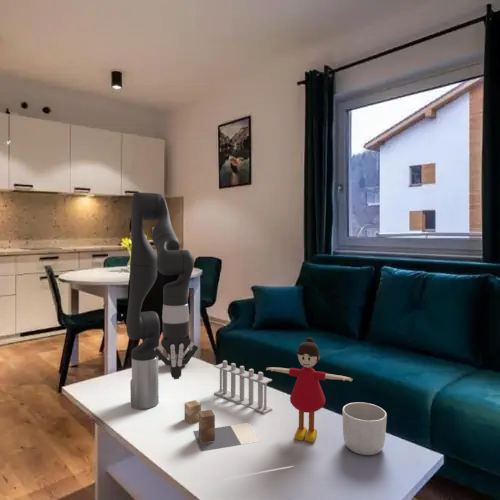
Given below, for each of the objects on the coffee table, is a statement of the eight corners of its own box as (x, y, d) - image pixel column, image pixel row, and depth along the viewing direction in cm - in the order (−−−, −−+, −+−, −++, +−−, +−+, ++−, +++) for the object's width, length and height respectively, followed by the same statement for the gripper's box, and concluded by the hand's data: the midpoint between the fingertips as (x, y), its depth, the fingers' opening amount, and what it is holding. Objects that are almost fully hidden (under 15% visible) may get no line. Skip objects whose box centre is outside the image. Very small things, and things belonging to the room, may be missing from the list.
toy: (260, 435, 129) (261, 339, 127) (271, 419, 140) (272, 330, 138) (349, 452, 120) (351, 349, 118) (353, 434, 130) (355, 339, 128)
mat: (200, 452, 120) (200, 451, 119) (193, 432, 131) (193, 431, 131) (260, 442, 125) (260, 441, 125) (248, 424, 136) (248, 422, 136)
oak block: (189, 425, 136) (189, 407, 135) (184, 420, 139) (184, 402, 139) (200, 422, 138) (200, 404, 137) (195, 417, 141) (195, 399, 141)
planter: (340, 455, 118) (341, 418, 118) (342, 434, 130) (343, 400, 130) (386, 462, 115) (387, 423, 114) (384, 440, 127) (385, 404, 126)
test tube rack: (272, 410, 147) (272, 373, 146) (264, 414, 144) (264, 376, 143) (222, 390, 164) (222, 357, 163) (214, 394, 160) (213, 360, 159)
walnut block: (201, 443, 124) (201, 417, 123) (198, 437, 127) (198, 411, 127) (214, 441, 125) (214, 415, 124) (211, 435, 129) (211, 409, 128)
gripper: (153, 324, 115) (154, 385, 116) (201, 320, 119) (201, 380, 121) (151, 318, 122) (151, 376, 124) (196, 315, 127) (196, 371, 128)
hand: (176, 378), depth 122 cm, fingers closed
